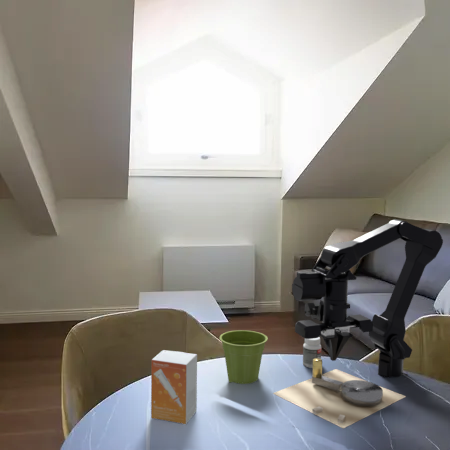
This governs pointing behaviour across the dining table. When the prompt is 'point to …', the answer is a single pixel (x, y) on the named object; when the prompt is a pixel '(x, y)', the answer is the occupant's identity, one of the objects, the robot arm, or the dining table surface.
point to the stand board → (333, 400)
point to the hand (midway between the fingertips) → (333, 360)
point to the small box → (174, 386)
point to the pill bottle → (311, 351)
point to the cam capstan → (349, 387)
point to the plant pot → (243, 354)
